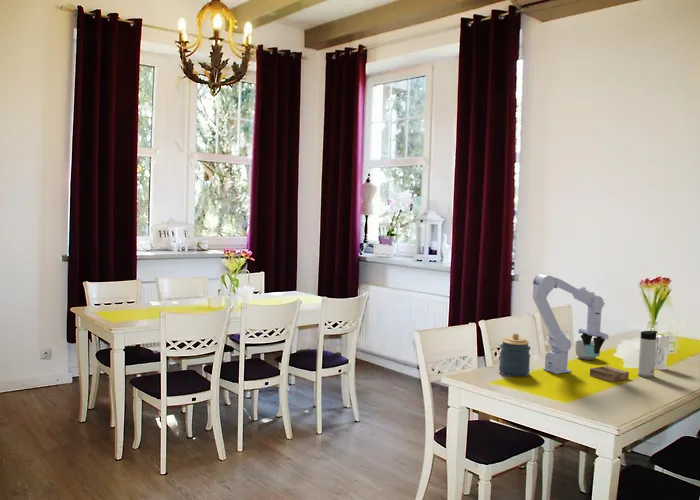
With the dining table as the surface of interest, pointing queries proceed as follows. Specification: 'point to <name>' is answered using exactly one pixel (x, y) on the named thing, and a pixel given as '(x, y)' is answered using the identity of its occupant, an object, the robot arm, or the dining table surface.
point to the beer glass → (661, 352)
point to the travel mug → (647, 354)
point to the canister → (514, 356)
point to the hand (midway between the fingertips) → (592, 352)
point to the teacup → (582, 350)
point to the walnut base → (609, 373)
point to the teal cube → (591, 350)
